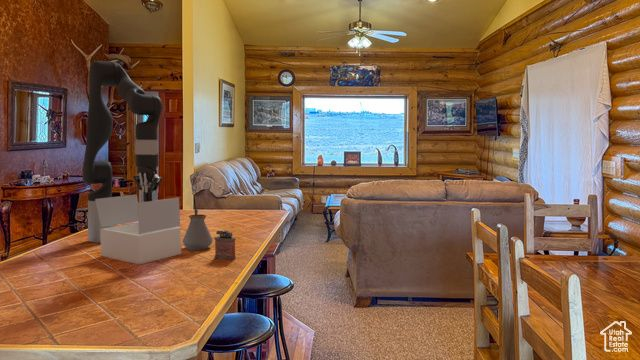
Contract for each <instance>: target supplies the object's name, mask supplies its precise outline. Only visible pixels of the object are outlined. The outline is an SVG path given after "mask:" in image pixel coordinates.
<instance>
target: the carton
mask: <svg viewBox="0 0 640 360" xmlns="http://www.w3.org/2000/svg"><path fill="white" fill-rule="evenodd" d="M181 229H182V228H181V227H180V226H177V227H172V228H167V229H162V230H157V231H151V232H146V233H141V234H139V221H137V222H131V223H125V224H119V225H113V227H108V228H102V229H100V238H101V242H100V256H101V257H105V258H108V259H114V260H116V261H117V260H118V261H121V262H127V263H130V264H135V265H144V264H149V263H151V262H156V261H159V260H163V259H167V258H171V257H174V256H175V257H176V256H178V255H182V233H181V232H182V230H181Z"/></svg>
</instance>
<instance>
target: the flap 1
mask: <svg viewBox="0 0 640 360" xmlns="http://www.w3.org/2000/svg"><path fill="white" fill-rule="evenodd" d="M95 201H96V206H97V211H98V216H99V221H100V226H101V227H106V226H112V225H113V226H119V225H125V224H131V223H137V222H139V221H138V203H139V200H138V195H137V194H130V195H121V196H112V197H109V198H100V199H95Z"/></svg>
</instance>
